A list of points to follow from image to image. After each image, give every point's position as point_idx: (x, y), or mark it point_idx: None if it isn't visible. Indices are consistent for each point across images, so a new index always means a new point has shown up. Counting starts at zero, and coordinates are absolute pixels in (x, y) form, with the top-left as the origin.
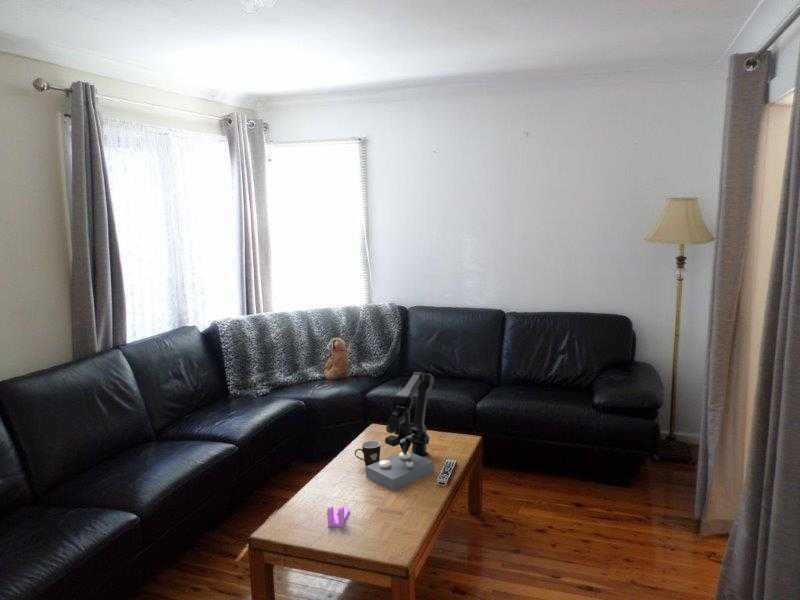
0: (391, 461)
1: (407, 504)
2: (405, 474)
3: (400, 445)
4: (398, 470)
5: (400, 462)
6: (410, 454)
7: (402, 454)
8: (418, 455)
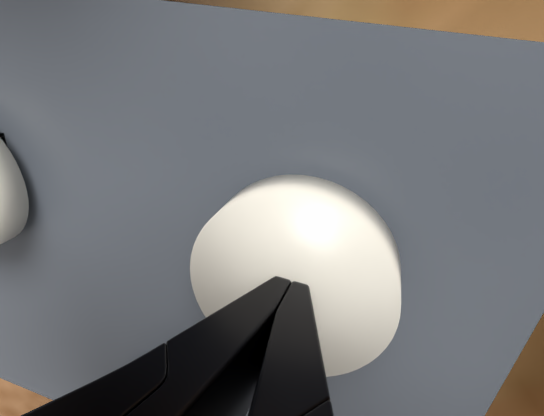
0: (96, 157)
1: (22, 402)
2: (60, 396)
3: (98, 402)
4: (41, 335)
5: (158, 274)
6: (332, 375)
7: (248, 269)
8: (495, 392)
